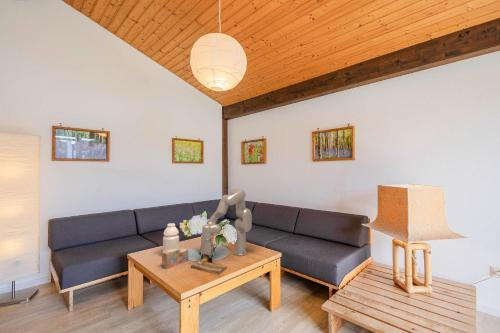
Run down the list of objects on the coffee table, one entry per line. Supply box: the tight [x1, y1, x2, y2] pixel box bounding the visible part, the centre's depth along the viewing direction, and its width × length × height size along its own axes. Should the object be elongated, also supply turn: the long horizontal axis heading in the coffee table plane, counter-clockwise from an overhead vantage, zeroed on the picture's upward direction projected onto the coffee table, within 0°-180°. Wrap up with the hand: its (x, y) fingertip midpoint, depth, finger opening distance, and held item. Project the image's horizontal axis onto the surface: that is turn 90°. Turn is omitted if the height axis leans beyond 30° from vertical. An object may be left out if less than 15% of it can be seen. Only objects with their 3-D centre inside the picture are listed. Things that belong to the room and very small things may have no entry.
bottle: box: [162, 222, 180, 252], centre depth 210 cm, size 14×14×28 cm
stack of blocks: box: [161, 248, 189, 270], centre depth 192 cm, size 21×6×12 cm, turn 145°
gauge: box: [198, 254, 210, 265], centre depth 191 cm, size 12×5×6 cm, turn 156°
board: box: [190, 259, 227, 275], centre depth 184 cm, size 11×26×2 cm, turn 66°
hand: (206, 261), depth 194 cm, fingers open, 7 cm apart
